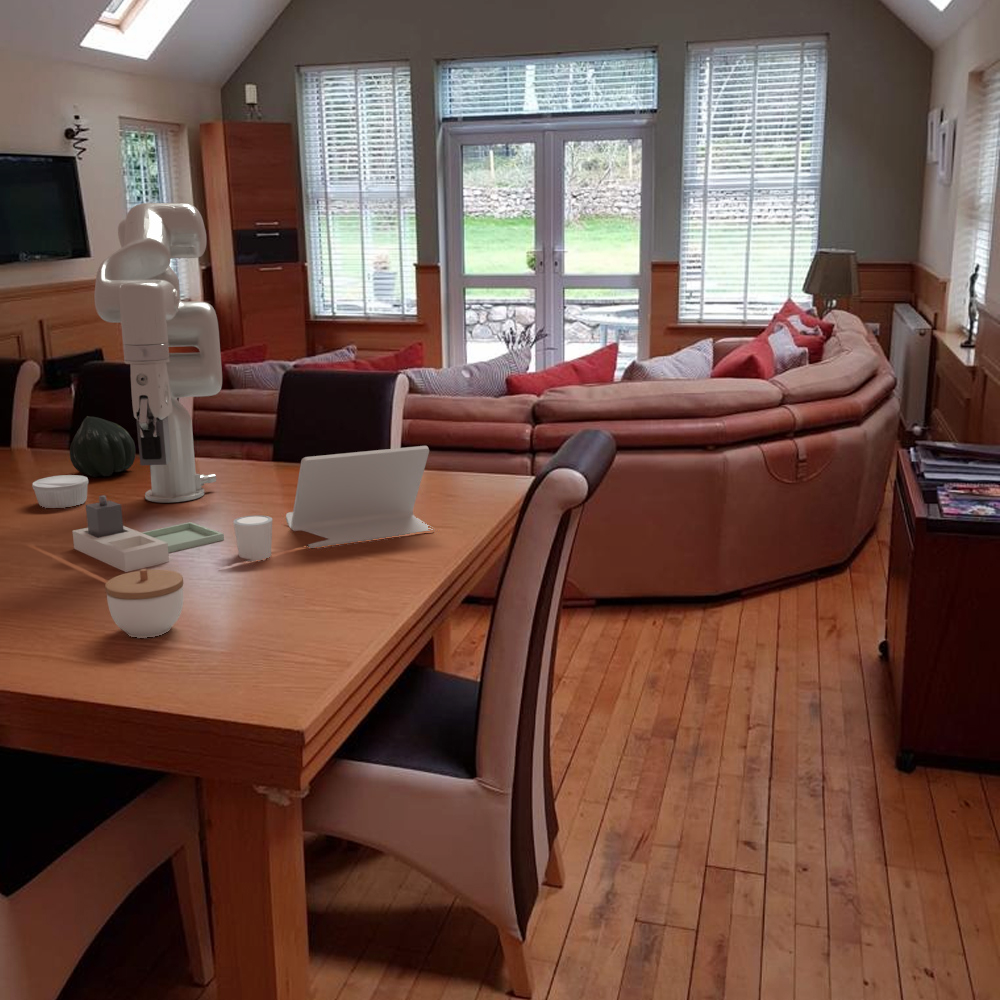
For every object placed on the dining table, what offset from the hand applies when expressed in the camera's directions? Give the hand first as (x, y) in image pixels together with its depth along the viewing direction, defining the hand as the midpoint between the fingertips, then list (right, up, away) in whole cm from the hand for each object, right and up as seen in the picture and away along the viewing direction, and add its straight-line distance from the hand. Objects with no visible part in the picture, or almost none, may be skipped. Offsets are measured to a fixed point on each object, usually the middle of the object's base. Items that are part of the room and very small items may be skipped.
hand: (155, 455), depth 187 cm
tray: (+1, -16, +9) cm, 19 cm away
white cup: (+18, -19, 0) cm, 26 cm away
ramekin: (-33, -9, +39) cm, 52 cm away
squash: (-35, -2, +68) cm, 76 cm away
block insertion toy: (-6, -19, 0) cm, 19 cm away
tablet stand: (+34, -14, +18) cm, 41 cm away
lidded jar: (+10, -27, -35) cm, 45 cm away
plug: (0, -1, 0) cm, 1 cm away
